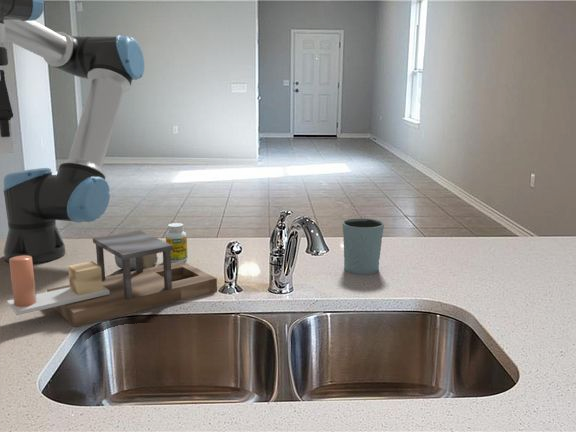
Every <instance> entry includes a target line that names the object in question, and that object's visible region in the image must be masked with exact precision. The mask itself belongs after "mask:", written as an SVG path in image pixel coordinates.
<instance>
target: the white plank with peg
mask: <svg viewBox="0 0 576 432" xmlns="http://www.w3.org/2000/svg"><path fill="white" fill-rule="evenodd" d="M8 264H9V269H10V270H9V271H10V281H11V290H12V297H13V298H12V299H9V300H8V299H7V300H6V304H7V306H8V307H9V308H10V309H11V310H12V312H13V313H14V314H15V315H16V316H21V315H26V314H30V313H34V312H39V311H42V310H46V309H51V308H53V307H56V306H60V305H65V304H69V303H73V302H78V301H82V300H86V299H91V298H95V297H99V296H104V295H108V294H110V291H109V290H108V289H107V288H105V287H104V286H103V290H101V291H97V292H92V293H88V294H83V295H77V294H76V293H75V292H74V291H72V290H71V289H70V287H68V288H63V289H59V290H54V291H49V292H47V291H46V292H41V293H36V284H35V283H36V282H35V275H34V263H33V262H32V257H31V256H27V255H23V256H16V257H12V258H10V259H9V262H8Z"/></svg>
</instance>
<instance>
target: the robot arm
mask: <svg viewBox="0 0 576 432" xmlns="http://www.w3.org/2000/svg"><path fill="white" fill-rule="evenodd" d="M44 4H45V2H44V0H0V67H1V66H3V67H4V66H8V65H9V60H8V59H9V58H8V57H9V56H8V49H7V48H6V47H5V46H4V45H6V44H7V41H8V42H9V43H11V44H13V45H15V46H18V47H21V48H22V49H24V50H26V51H28V52H31V53H33V54H34V55H37V56H39V57H41V58H43V59H44V61H45V62H46V63H47V65H49V66H52V67H54V68H55V69H58V70H60V71H62V72H65V73H67V74H70V75H73V76H75V77H77V78H81V79H87V80H89V82H90V86H89V89H88V91H87V95H86V100H85V103H84V106H83V109H82V113H81V116H80V119H79V123H78V126H77V130H76V133H75V136H74V138H73V142H72V145H71V148H70V151H69V155H68V159H67V160H65V161H62V162H61V163H60V164H59V167H58V171H57V173H56V174H53V172H52V170H51V168H49V167H42V168H41V167H39V168H33V169H32V168H31V169H25V170H21V171H14V172H11V173H8V174H6V175H5V176H4V178H3V195H4V202H5V210H6V219H7V226H8V232H7V234H6V238H5V239H6V240H5V244H4V247H3V257H4V260H5V261H6V262H8V263H9V259H10V258H12V257H16V256H23V255H27V256H31V257H32V262H33V264H37V263H44V262H48V261H52V260H57V259H59V258H61V257H63V256H65V254H66V245H65V242H64V240H63V238H62V235H61V234H60V231H59V229H58V227H57V223H56V221H63V222H74V223H90V222H95V221H97V220H98V219H100V218H101V217H102V215H104V213H105V212H106V211H107V208H108V206H109V204H110V198H111V194H110V191H111V190H110V186H109V185H110V184H109V183H108V181H106V174H105V173H104V172H103V170H102V169H103V165H104V161H105V158H106V154H107V152H108V147H109V143H110V140H111V137H112V133H113V130H114V129H113V128H114V125H115V122H116V118H117V114H118V111H119V108H120V104H121V101H122V100H121V99H122V96H123V94H124V93H126V92H128V91H130V89H131V86H132V82H133V80H134V81H137V80H140V79H141V78H143V75H144V73H145V58H144V53H143V51H142V48H141V46H140V44H139V43H138V42H137V40H136V39H135V38H134V37H132V36H125V35H124V36H123V35H121V34H119V35H116V36H79V35H78V36H77V35H76V36H75V35H70V34H68V33H66V32H64V31H55V30H53V29H50V28H48V26H45V25H44V24H41V23H39V22H38V21H36V20H38V19H39V18H41V16H42V14H43V12H44V9H45V6H44ZM5 74H6V73H5V71H4V69H0V154H1V155H2V154H14V142H13V134H12V124H11V120H12V118H13V117H14V113H13V110H12V105H11V104H12V103H11V99H10V97H9V92H8V89H7V88H8V87H7V82H6V79H5V78H6V77H5Z"/></svg>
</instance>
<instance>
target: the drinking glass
mask: <svg viewBox="0 0 576 432" xmlns="http://www.w3.org/2000/svg"><path fill="white" fill-rule="evenodd" d="M384 228H385V224H384V222H383V221H381V220H377V219H374V218H373V219H372V218H359V217H358V218H348V219H345V220H343V221H342V235H343V237H342V239H343V241H342V242H343V243H342V244H343V258H344V259H343V260H344V261H343V266H344V267H343V268H344V270H345V271H346V272H347V273H350V274H355V275H370V274H372V275H373V274H375V273H377V272H378V271H379V267H380V258H381V249H382V238H383V233H384Z"/></svg>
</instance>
